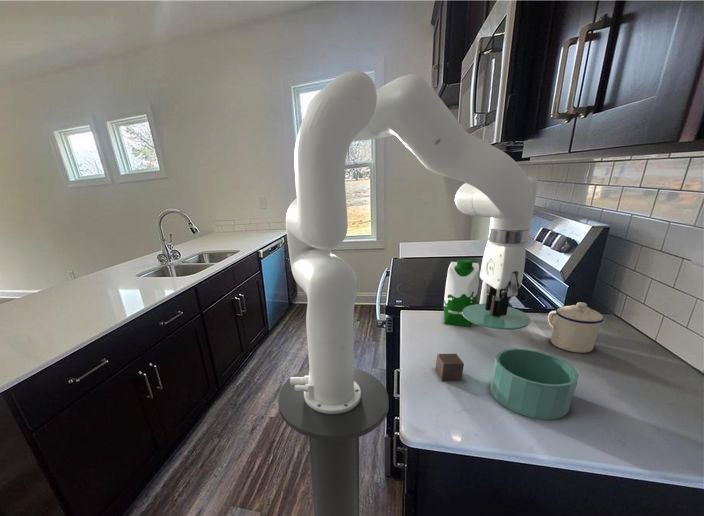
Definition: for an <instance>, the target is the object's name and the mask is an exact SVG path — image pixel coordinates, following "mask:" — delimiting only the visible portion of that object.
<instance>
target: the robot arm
mask: <svg viewBox="0 0 704 516" xmlns="http://www.w3.org/2000/svg"><path fill="white" fill-rule="evenodd" d="M305 110H306V111H305V115H304V117H303V119H302V121H301V123H300V126H299V129H298V133H297V136H296V140H295V146H294V153H293V154H294V155H293V157H294V160H293V161H294V164H293V165H294V166H293V167H294V180H295V181H294V183H295V195H296V198H295V199H294V200H293V201H292V202H291V203H290V205H289V207H288V209H287V211H286V216H285V231H286V240H287V247H288V255H289V263H290V268H291V273H292V277H293V279H294V280H295V282H296V283H297V285H298V286H299V287H300V288H301V289H302V290H303V292H304V293H305V294H306V297H307V306H306V316H305V317H306V318H305V324H306V325H305V326H306V338H307V353H308V354H307V355H308V368H309V376H305V377H300V378H299V377H292V376H290V377H289V378H290V385H291V386H295V392H301V391H304V398H305V401H306V403H307V404H308V405H309V406H310V407H311V408H312V409H314V410H316V411H318V412H322V413H326V414H339V413H344V412H347V411H349V410H351V409H353V408H354V407H356V406H357V405H358V403H359V402H360V399H361V390H360V387H359V385H358V384H357V383H356V382H355V381H354V367H355V360H354V358H355V357H354V356H355V355H354V354H355V352H354V351H355V350H354V349H355V348H354V347H355V346H354V344H355V343H354V342H355V341H354V339H355V338H354V337H355V336H354V334H355V333H354V315H355V305H356V300H357V295H358V287H359V286H358V285H359V284H358V278H357V274H356V272H355V270H354V269H353V267H352V266H351V265H350V264H349V263H348V262H347V261H346V260H345V259H343V258H342V257H340V256H337V254H334V253H333V252H332V251H333V249H335V248H337V247H338V246H340V245H341V244H342V243H343V242H344V240H345V238H346V237H347V233H348V223H349V220H348V206H347V193H346V192H347V191H346V160H347V155H348V152H349V150H350V147H351V145H352V142H361V141H362V142H363V141H371V140H379V139H383V138H387V137H391V136H396V137H397V139H399V141H400V142H402V144H403V145H404V146H405V147H406V148H407V149H408V150H409V151H410V152H411V153H412V154H413V155H414V157H415V158H416V159H417V160H418V161H419V162H420V163H421V164H422V166H424V168H425V169H426V170H428V171H430V172H432V173H434V174H437V175H439V176H442V177H444V178H445V177H446V178H449V179H453V180H457V181H460V182H463V184H462V185H461V186H459V188H458V189H457V191H456V194H455V197H454V203H455V206H456V209H457V210H459V212H460V213H463V214H464V215H467V216H472V217H481V218H490V221H489V228H488V230H489V231H488V236H487V242H486V245H485V249H484V252H483V256H482V261H481V267H480V278H479V279H480V280H482V282H483V281H484V282H486V283H487V294H489V295H487V299H486V305H485V309H486V310H487V311H488V310H490V307H491V301H492V295H493V294H496V299H494V300H493V307H492V313H491V314H492V315H493V316H505V315H506V314H507V309H508V307H509V302H510V301H511V299H512V298H513V297H517V296H518V295H519V294H518V292H519V291H518V289H520V287H521V286H522V283H523V278H524V273H525V264H526V257H527V256H526V253H527V246H526V245H528V243H529V235H530V231H531V225H532V220H533V215H534V210H535V205H536V200H537V195H538V188H539V180H538V178H536V177H534V176H527V174H525V172H524V171H523V170H522V168H521V166H520V165H519V163H517V162H516V160H515V159H513V158H512V157H511V156H510V155H509V154H507V153H506V152H505V151H503V150H501V149H499V148H498V147H496V146H494V145H493V144H491V143H489V142H487V141H485V140H483V138H479V137H477V136H475V135H473V134H471V133H469V132H468V131H467V130H466V129H465V128H464V127H463V126H462V124H461V123H460V121H459V120H458V119H457V118H456V117H455V115H454V114H453V113H452V111H451V110H450V108H448V106H447V105H446V104H445V103H444V101H443V99H441V97H440V96H439V95H438V93H437V92H436V90H435V89H434V88H433V87H432V85H430V84H429V82H428V81H427V80H426V79H425V78H424V77H423V76H422V75H419V74H416V73H415V74H414V73H408V74H404V75H402V76H399V77H397V78H395V79H393V80H391V81H389V82H387V83H386V84H384V85H382V86H380V87H376V85H375V82H374V80H373V79H372V77H371V76H370V75H369V74H367V73H366V72H364V71H361V70H350V71H345V72H342V73H341V74H339V75H337V76H336V77H335V78H334V79H332V80H331V81H330V82H329V83H328V84H327V85H326V86H324V88H322V89H321V90H320V91H319V92H317V93H316V94H315V95H314V96H313V98H311V100H310V101H309V103H308V105H307V107H306V109H305ZM502 291H505V292H503V293H502Z"/></svg>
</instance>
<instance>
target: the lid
mask: <svg viewBox="0 0 704 516" xmlns="http://www.w3.org/2000/svg"><path fill="white" fill-rule="evenodd" d="M494 299H496V294H493V295H492V301H491V307H490V310H488V311H487V310H486V309H485V305H486V304H480V303H476V304H475V305H470V306H467V307H465V308H464V309H463V311H462V315H463V316H464V318H466V319H467V320H468V321H470V322H471V324H475V325H478V326H480V327H484V328H489V329H494V330H503V331H512V330H520V329H525V328H527V327H528V326H529V325H530V324H531V321H532V320H531V318H530V316H529V315H528V314H527V313H525V311H522V310H519V309H518V308H514V307H510V306H508V309H507V314H506V315H505V316H493V315H492V314H491V313H492V307H493V300H494Z"/></svg>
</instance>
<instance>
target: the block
mask: <svg viewBox="0 0 704 516" xmlns="http://www.w3.org/2000/svg"><path fill="white" fill-rule="evenodd" d="M464 365H465V364H464V362H463V360H462V359H461V357H459V355H458V354H457V353H437V354H436V361H435V371H436V374H437V375H438V377H439V379H440V380H441V381H445V382H446V381H447V382H448V381H449V382H450V381H455V382H456V381H457V382H458V381H462V380H463V373H464V367H465V366H464Z"/></svg>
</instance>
